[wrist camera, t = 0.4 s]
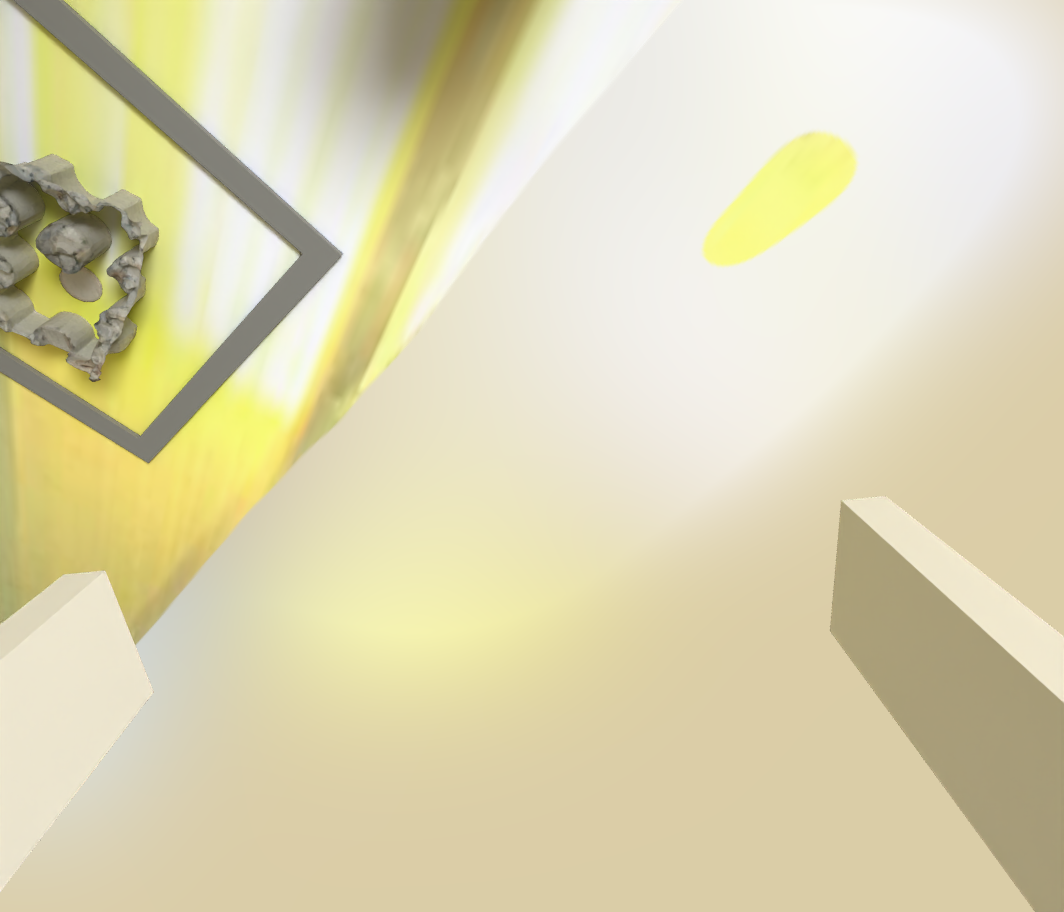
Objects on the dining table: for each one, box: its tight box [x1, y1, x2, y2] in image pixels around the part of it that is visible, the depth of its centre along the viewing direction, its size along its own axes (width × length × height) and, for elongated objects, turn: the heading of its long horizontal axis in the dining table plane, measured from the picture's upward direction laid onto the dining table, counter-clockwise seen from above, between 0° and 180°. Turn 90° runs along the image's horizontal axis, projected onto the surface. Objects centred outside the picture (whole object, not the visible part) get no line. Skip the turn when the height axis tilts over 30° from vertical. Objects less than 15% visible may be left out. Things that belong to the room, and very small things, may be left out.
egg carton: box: [0, 154, 159, 382], centre depth 34 cm, size 11×8×4 cm
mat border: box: [0, 0, 342, 463], centre depth 35 cm, size 22×19×1 cm
